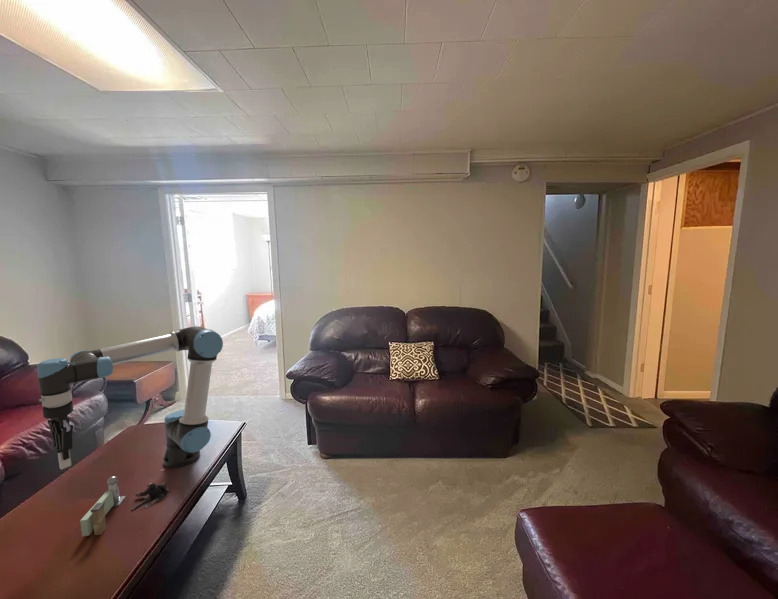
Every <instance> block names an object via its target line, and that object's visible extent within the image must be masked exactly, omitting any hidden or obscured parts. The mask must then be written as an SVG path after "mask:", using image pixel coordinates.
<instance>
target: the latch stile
mask: <svg viewBox="0 0 778 599" xmlns="http://www.w3.org/2000/svg"><path fill="white" fill-rule="evenodd" d="M95 503H96V502H95ZM94 505H95V504H94ZM94 505H93V506H94ZM104 505H105V502H102V503H96V505H95V506H94V507H93V506H92V507H93V508H92V507H91V508H92V509H91V508H90V509H91V512H92V517H93V525H94V530H93V532H94V536H99V535H102V534H103V533H104V532H105V530H106V528H107V523H106V522H107V521H106V515H105V511H104Z"/></svg>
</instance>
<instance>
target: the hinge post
mask: <svg viewBox="0 0 778 599" xmlns="http://www.w3.org/2000/svg"><path fill="white" fill-rule="evenodd" d="M106 483H107V486H108V491H111V490H113V499H114V505H113V506H112V508H116V507H120V505H121V504H122V503H123V501H124V500H126V495H122V496H120V488H119V477H118V476H116V475H114V476H110V477H109V478H108V479H107V481H106Z"/></svg>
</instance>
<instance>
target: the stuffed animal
mask: <svg viewBox="0 0 778 599" xmlns="http://www.w3.org/2000/svg"><path fill="white" fill-rule="evenodd" d="M166 483H167V482H166V481H163V482H162V483H161V484H157V483H155V482H153V481H152V482H150V483H148V484H147V487H146V489H145V490H144V491H141V492H136V493H135V494H134V495H135V496H136V497H137V498H140V497H142V500H143V501H142V502H140V503H138V504H137V505H135V506H134V507H133V508H131V510H130V511H135V510H137V509H138V508H140V507H142V505H144V504H145V503H146V504H145V505H144V508H148V507H149V506H151V505H153V504H154V503H156V502H159V501H160V500H162V499H163V498H165V497H167V493H169V492H170V491H171V490H170V489H169V488H168V487H166ZM147 496H148V497H147Z"/></svg>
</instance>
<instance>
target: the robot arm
mask: <svg viewBox="0 0 778 599" xmlns="http://www.w3.org/2000/svg"><path fill="white" fill-rule="evenodd" d="M223 341H224V340H223V338H222V336H221V335H220V334H219V333H218V332H216V331H214V330H213V329H209V328H205V327H202V326H195V325H194V326H188V327H185V328H181V329H176V330H172V331H170V332H169V333H167V334H164V335H163V334H162V335H159V336H154V337H150V338H145V339H140V340H136V341H132V342H131V341H129V342H126V343H121V344H117V345H113V346H107V347H103V348H98V349H94V350H79V351H77V352H74V353H73V354H72V355H71V356H70V358H69V361H68V359H67V358H65V357H57V358H49V359H46V360H42V361H41V362H39V363H38V364H37V379H38V386H39V391H40V397H41V398H39V399H38V400H39V402H41V406H42V415H43V416H42V417H43V418H44V419H46V420H47V424H48V426H49V431H50V436H51V440H52V443H53V447H54V448H55V450H57V451H56V453H57V459H58V465H59V466H58V467H59V469H60V470H63V469H67V468H68V467H71V466H72V458H71V451H70V450H71V449H73V430H74V425H73V424H71V425H70V423H71V422H70V421H71V420H70V418H69V417H68V416H69V415H70V414H72V413H73V412H74V404H73V401H72V400H73V394H72V393H73V392H72V387H71V385H74V384H78V383H84V382H87V381H93V380H97V379H103V378H106V377H109V376H111V375H113V373H114V365H119V364H122V363H127V362H130V361H135V360H138V359H143V358H146V357H152V356H155V355H159V354H164V353H167V352H171V351H173V352H175V353H176V352H180V351H188V352H187V360H188V361H189V362H190V364H189V373H188V379H187V380H188V381H187V388H186V396H185V403H184V409H180V410H177V411H174V412H171V413H169V414H167V415H166V416H165V417H164V423H163V424H164V432H165V443H166V447H165V451H164V454H163V457H162V458H163V459H162V461H163V465H164V466H165V467H166V468H181V467H184V466H187V465H189V464H192V463H193V462H195V461H197V460H198V459H199V458H200V455H201V450H203V448H205V447H206V446H207V445H208V444H209V442H210V440H211V437H212V433H211V431H210V429H209V428H208V426H209V417H208V416H207V414H206V411H207V406H208V405H207V404H208V397H209V389H210V383H211V374H212V369H213V368H212V367H213V366H212V365H213V363H215V361H217V358H218V355H219V353H221V351H222V349H223V346H224V342H223Z"/></svg>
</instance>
